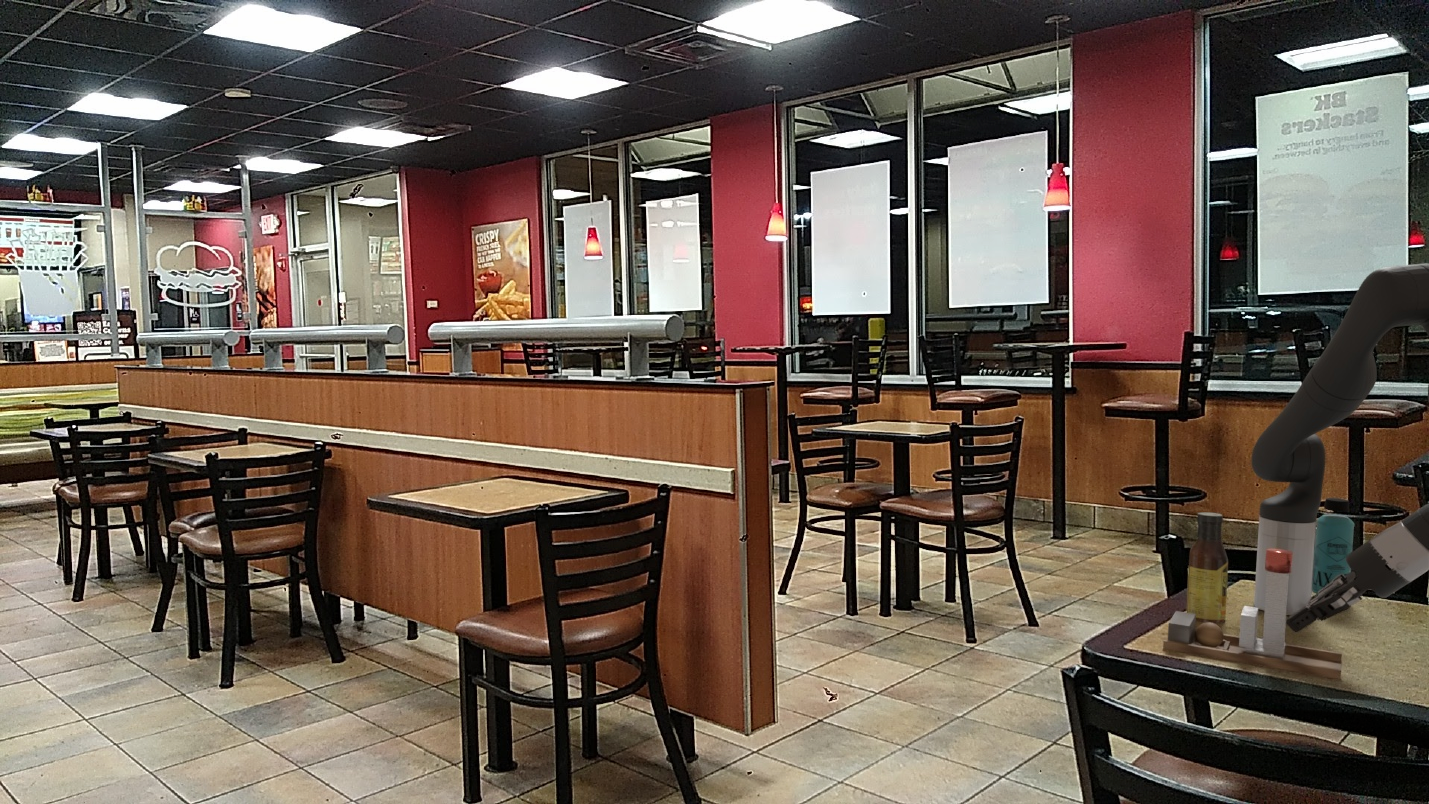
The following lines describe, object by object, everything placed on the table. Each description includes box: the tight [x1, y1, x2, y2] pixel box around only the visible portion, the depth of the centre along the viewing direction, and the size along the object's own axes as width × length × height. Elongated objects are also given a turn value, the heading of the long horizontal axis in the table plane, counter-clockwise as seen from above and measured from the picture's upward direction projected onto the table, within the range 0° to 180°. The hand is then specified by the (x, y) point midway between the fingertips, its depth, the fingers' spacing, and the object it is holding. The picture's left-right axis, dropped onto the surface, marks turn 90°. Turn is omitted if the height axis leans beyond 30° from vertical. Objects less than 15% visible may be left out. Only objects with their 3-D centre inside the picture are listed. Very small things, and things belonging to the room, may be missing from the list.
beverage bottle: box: [1312, 497, 1356, 595], centre depth 194 cm, size 6×7×20 cm
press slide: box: [1239, 549, 1293, 660], centre depth 156 cm, size 6×7×16 cm
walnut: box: [1196, 622, 1224, 647], centre depth 161 cm, size 4×4×4 cm
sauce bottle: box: [1186, 511, 1229, 624], centre depth 177 cm, size 6×6×20 cm
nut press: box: [1162, 610, 1343, 681], centre depth 158 cm, size 24×10×6 cm, turn 58°
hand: (1290, 626), depth 155 cm, fingers closed
